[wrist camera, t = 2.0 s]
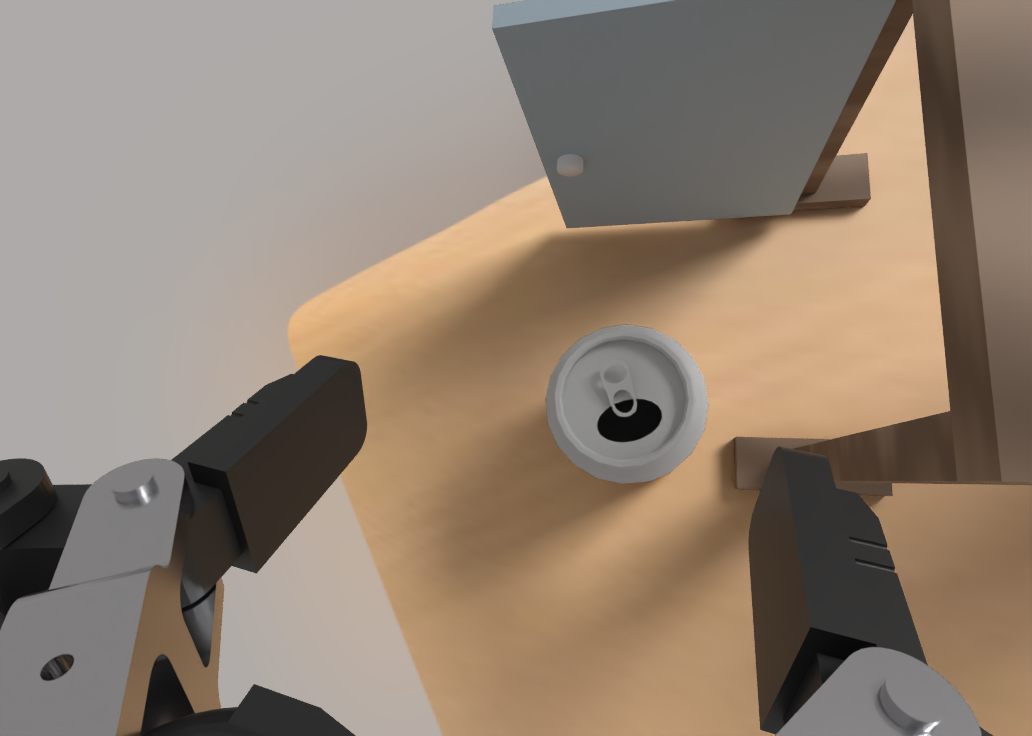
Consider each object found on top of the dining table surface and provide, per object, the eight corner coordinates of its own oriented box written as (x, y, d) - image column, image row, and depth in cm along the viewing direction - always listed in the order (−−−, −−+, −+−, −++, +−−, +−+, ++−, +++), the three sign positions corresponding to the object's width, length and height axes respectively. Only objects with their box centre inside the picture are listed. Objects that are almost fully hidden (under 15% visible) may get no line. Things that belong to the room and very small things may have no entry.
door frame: (727, 172, 38) (809, -206, 17) (861, 161, 36) (1141, -281, 15) (735, 488, 34) (853, 501, 13) (885, 495, 32) (1301, 524, 11)
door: (789, 191, 36) (910, -77, 18) (791, 222, 35) (915, -23, 18) (567, 207, 39) (494, -6, 22) (566, 235, 39) (491, 40, 22)
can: (593, 495, 36) (562, 503, 25) (562, 383, 38) (520, 342, 27) (711, 465, 35) (736, 459, 23) (674, 351, 37) (680, 293, 25)
